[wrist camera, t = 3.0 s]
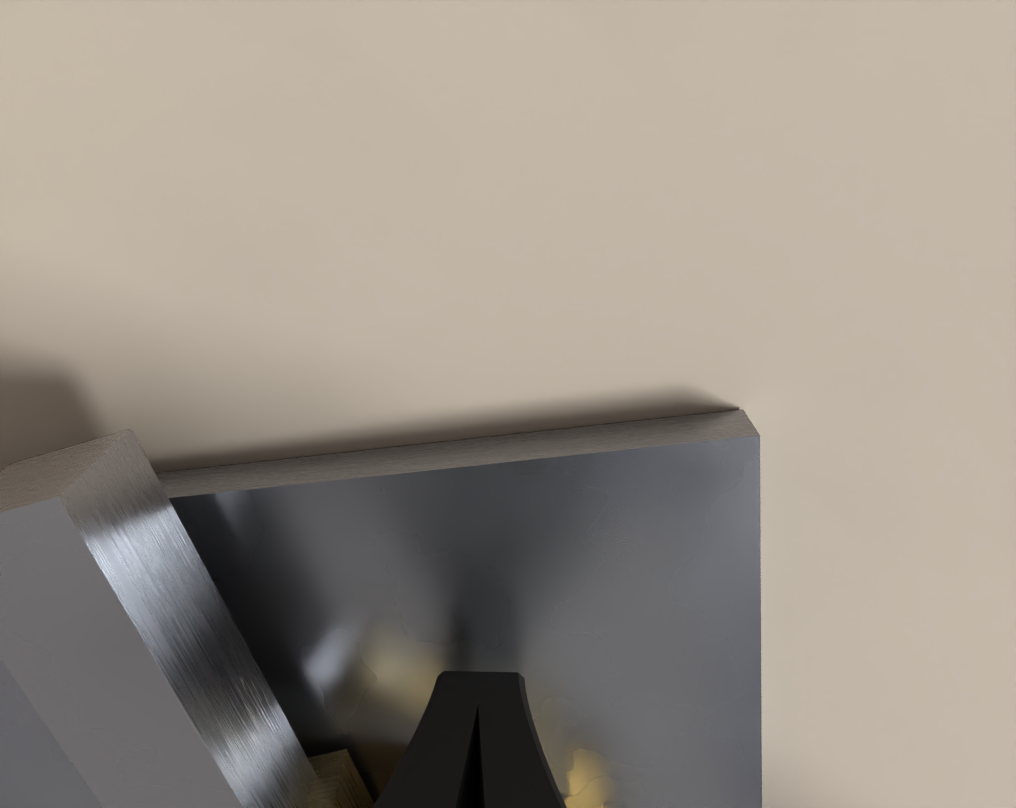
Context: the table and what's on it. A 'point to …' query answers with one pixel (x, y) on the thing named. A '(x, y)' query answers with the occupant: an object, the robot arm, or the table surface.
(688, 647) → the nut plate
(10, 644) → the ring nut
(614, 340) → the table surface
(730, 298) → the table surface
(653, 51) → the table surface
